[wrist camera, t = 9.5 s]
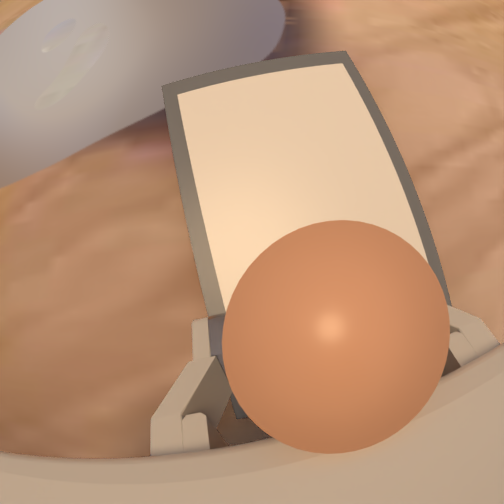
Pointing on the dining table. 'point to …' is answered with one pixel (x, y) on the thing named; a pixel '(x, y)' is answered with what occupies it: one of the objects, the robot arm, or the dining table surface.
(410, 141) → the dining table surface
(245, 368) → the marker
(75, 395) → the dining table surface
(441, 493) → the robot arm
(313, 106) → the writing board
